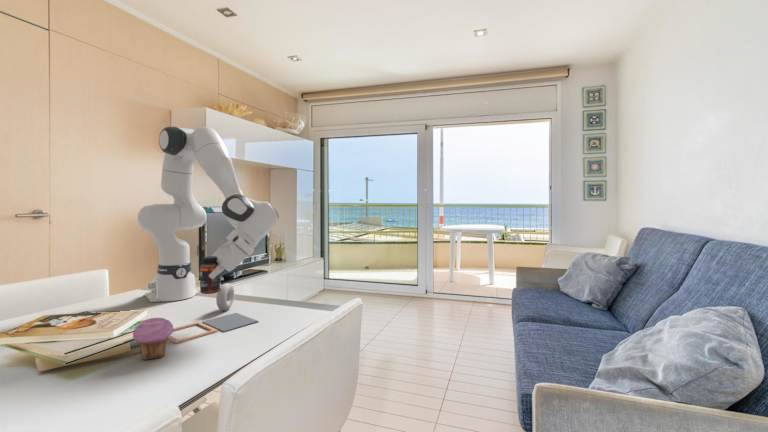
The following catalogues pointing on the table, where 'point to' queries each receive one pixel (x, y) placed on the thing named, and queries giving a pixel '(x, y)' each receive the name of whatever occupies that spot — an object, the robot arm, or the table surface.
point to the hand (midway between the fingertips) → (208, 275)
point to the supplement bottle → (205, 281)
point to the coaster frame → (194, 335)
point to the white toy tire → (225, 297)
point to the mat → (230, 322)
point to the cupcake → (153, 337)
